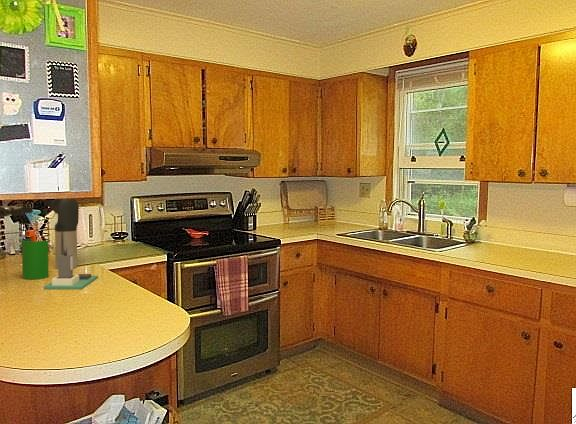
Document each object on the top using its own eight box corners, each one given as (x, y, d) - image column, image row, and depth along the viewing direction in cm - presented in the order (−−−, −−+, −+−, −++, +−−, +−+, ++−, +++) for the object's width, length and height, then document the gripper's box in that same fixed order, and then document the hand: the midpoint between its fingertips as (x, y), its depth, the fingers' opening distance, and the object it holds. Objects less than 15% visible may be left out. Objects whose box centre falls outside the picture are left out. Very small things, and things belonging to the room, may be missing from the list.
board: (63, 277, 203) (63, 269, 202) (98, 277, 204) (97, 269, 203) (43, 289, 183) (43, 280, 182) (81, 289, 184) (81, 280, 183)
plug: (62, 281, 191) (61, 247, 190) (74, 282, 191) (73, 247, 190) (58, 284, 187) (57, 248, 186) (70, 284, 187) (70, 248, 186)
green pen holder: (52, 275, 206) (52, 229, 205) (40, 280, 198) (39, 231, 196) (30, 274, 207) (29, 228, 206) (17, 279, 199) (15, 230, 197)
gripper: (-28, 202, 177) (18, 202, 178) (-8, 199, 191) (35, 200, 192) (-27, 222, 178) (19, 222, 179) (-7, 218, 192) (35, 218, 193)
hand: (27, 211), depth 186 cm, fingers open, 8 cm apart
